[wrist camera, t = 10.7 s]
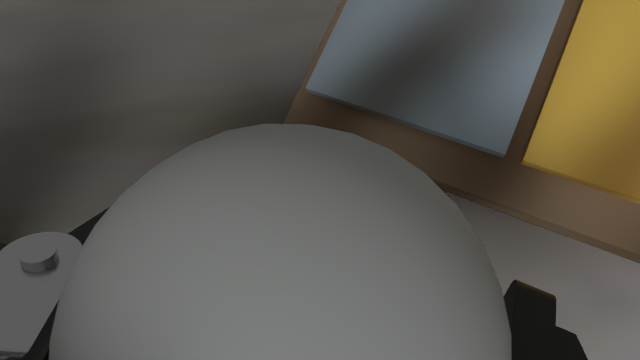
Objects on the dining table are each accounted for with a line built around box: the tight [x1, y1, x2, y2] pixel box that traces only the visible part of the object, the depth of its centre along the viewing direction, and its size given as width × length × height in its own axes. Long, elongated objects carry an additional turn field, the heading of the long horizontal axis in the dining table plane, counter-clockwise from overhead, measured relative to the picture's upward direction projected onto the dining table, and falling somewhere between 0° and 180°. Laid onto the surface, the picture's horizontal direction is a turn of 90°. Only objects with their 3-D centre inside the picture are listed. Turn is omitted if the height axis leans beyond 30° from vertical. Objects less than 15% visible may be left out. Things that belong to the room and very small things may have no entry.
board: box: [283, 0, 640, 263], centre depth 17 cm, size 17×11×1 cm, turn 66°
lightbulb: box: [49, 124, 512, 360], centre depth 9 cm, size 6×6×11 cm
